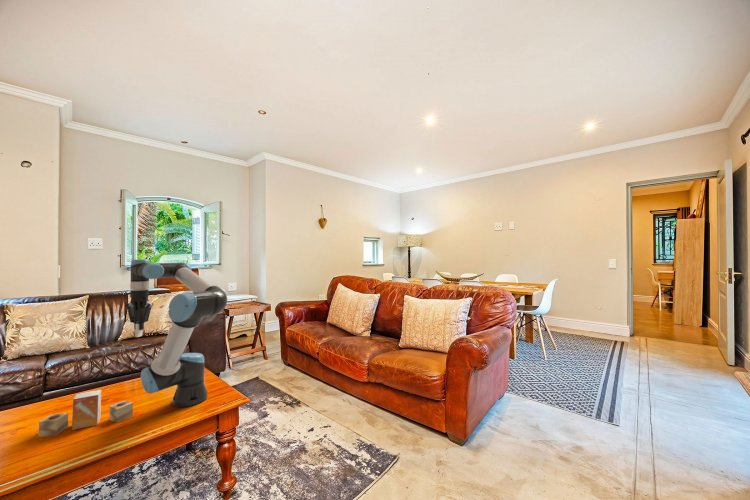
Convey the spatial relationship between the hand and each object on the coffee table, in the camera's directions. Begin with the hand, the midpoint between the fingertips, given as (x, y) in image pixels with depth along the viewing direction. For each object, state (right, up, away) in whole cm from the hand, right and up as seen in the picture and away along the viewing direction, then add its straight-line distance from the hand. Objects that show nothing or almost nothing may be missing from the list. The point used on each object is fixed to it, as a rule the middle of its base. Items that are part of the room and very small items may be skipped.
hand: (138, 336), depth 152 cm
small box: (-5, -32, -22) cm, 39 cm away
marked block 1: (-14, -32, -28) cm, 44 cm away
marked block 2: (+5, -32, -17) cm, 36 cm away
